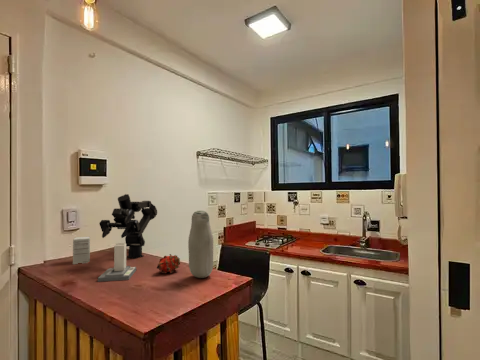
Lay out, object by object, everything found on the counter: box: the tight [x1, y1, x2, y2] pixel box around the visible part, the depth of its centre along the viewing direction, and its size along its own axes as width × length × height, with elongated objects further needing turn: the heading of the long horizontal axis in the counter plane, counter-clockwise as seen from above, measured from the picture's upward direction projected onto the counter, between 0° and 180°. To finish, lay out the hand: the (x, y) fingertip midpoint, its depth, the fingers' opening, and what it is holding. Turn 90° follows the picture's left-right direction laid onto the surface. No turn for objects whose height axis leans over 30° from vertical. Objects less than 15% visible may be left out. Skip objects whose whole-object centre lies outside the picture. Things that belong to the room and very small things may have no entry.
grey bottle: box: [187, 210, 214, 279], centre depth 116 cm, size 10×10×28 cm
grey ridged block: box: [72, 236, 91, 265], centre depth 142 cm, size 7×7×13 cm
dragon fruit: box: [156, 253, 181, 274], centre depth 122 cm, size 8×8×12 cm
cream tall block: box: [113, 242, 127, 271], centre depth 122 cm, size 4×4×12 cm
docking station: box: [97, 265, 137, 283], centre depth 118 cm, size 14×12×2 cm
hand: (112, 237), depth 127 cm, fingers open, 9 cm apart
